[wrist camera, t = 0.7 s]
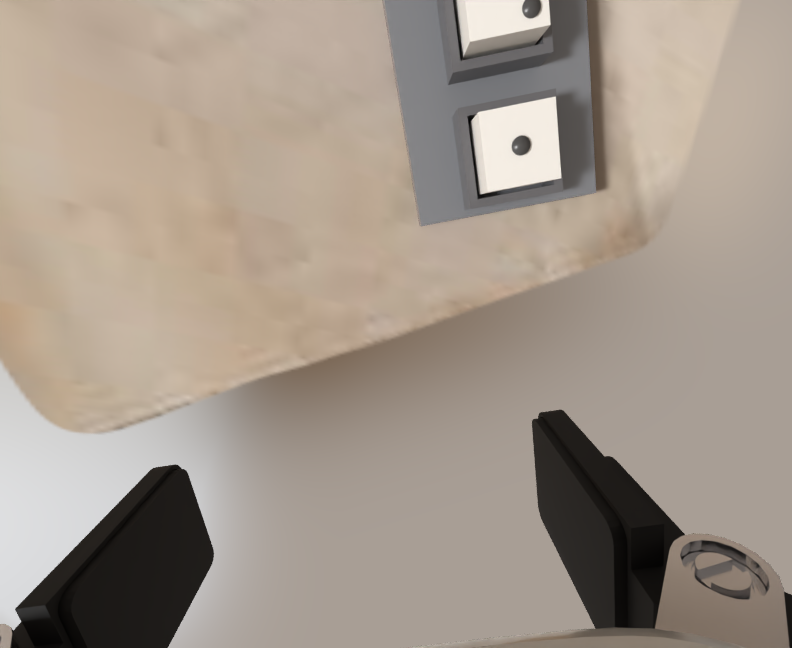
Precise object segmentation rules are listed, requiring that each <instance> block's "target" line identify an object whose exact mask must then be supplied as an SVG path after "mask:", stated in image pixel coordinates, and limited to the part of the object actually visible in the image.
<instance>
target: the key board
mask: <svg viewBox="0 0 792 648" xmlns="http://www.w3.org/2000/svg"><path fill="white" fill-rule="evenodd" d="M383 6H384V12H385V18H386V24H387V30H388V36H389V42H390V49H391V55H392V61H393V67H394V73H395V79H396V85H397V91H398V97H399V103H400V109H401V115H402V121H403V127H404V134H405V140H406V146H407V152H408V158H409V164H410V170H411V176H412V182H413V188H414V194H415V200H416V206H417V212H418V219H419V225H420V226H425V225H430V224H435V223H440V222H446V221H451V220H456V219H461V218H467V217H472V216H477V215H482V214H488V213H493V212H498V211H503V210H509V209H514V208H519V207H524V206H530V205H535V204H540V203H545V202H551V201H556V200H561V199H566V198H571V197H577V196H582V195H587V194H592V193H596V179H595V159H594V139H593V119H592V99H591V78H590V58H589V38H588V18H587V0H549V10H550V24H551V25H550V26H549V28H548V29H547V30H546V31H545V32H544V34H543V35H542V36H541V37H540V39H539V40H538V41H537V42H536V44H535V45H534V46H530V47H525V48H520V49H516V50H511V51H506V52H501V53H496V54H491V55H487V56H482V57H477V58H472V59H467V60H462V59H461V51H460V43H459V35H458V27H457V19H456V11H455V3H454V0H383ZM551 97H556V108H557V122H558V137H559V151H560V165H561V178H560V179H556V180H552V181H548V182H543V183H538V184H533V185H528V186H523V187H517V188H512V189H507V190H502V191H497V192H491V193H486V194H481V195H478V188H477V180H476V172H475V164H474V156H473V148H472V140H471V132H470V124H469V123H470V122H471V121H472V119H473V118H474V117H475V116H476V114H477V113H478V112H481V111H486V110H491V109H496V108H501V107H506V106H511V105H516V104H521V103H526V102H531V101H536V100H541V99H546V98H551Z"/></svg>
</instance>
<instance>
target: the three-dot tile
mask: <svg viewBox="0 0 792 648" xmlns="http://www.w3.org/2000/svg"><path fill="white" fill-rule="evenodd" d="M454 3H455V11H456V19H457V27H458V35H459V43H460V51H461V59H462V60H467V59H472V58H477V57H482V56H487V55H491V54H496V53H501V52H506V51H511V50H516V49H520V48H525V47H530V46H534V45H535V44H536V42H537V41H538V40H539V39H540V37H541V36H542V35H543V34H544V32H545V31H546V30H547V29H548V28H549V26H550V25H551V24H550V10H549V0H454Z"/></svg>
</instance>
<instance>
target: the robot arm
mask: <svg viewBox="0 0 792 648" xmlns="http://www.w3.org/2000/svg"><path fill="white" fill-rule="evenodd" d="M532 428H533V443H534V456H535V470H536V482H537V496H538V507H539V512H540V516H541V519H542V521H543V523H544V525H545V527H546V529H547V531H548V533H549V535H550V537H551V539H552V541H553V543H554V545H555V547H556V549H557V551H558V553H559V555H560V557H561V559H562V562H563V564H564V565H565V568H566V569H567V571H568V574H569V576H570V577H571V580H572V582H573V584H574V586H575V587H576V590H577V592H578V594H579V596H580V598H581V600H582V602H583V604H584V606H585V608H586V610H587V612H588V614H589V616H590V618H591V620H592V622H593V624H594V626H595V628H596V629H581V630H567V631H556V632H546V633H537V634H526V635H515V636H505V637H496V638H485V639H477V640H468V641H460V642H451V643H443V644H434V645H426V646H417V647H408V648H792V595H791V594H788V593H786V592H784V588H783V586H782V583H781V580H780V577H779V576H778V575H777V573H776V572H775V571H774V569H773V568H772V567H771V566H770V564H769V563H767V562H766V561H765V560H764V559H762V558H761V557H760V556H759V555H758V554H756V553H755V552H753V551H751V550H749V549H748V548H746V547H744V546H743V545H741V544H738V543H736V542H734V541H731V540H728V539H726V538H722V537H719V536H714V535H709V534H694V533H693V534H689V535H685V534H684V533H683V532H682V531H681V530H680V529H679V528H678V526H677V525H676V524H675V523H674V522H673V521H672V520H671V519H670V518H669V517H668V516H667V515H666V514H665V512H664V511H663V510H662V509H661V508H660V507H659V506H658V505H657V504H656V503H655V502H654V501H653V500H652V499H651V497H650V496H649V495H648V494H647V493H646V492H645V491H644V490H643V489H642V488H641V487H640V486H639V484H638V483H637V482H636V481H635V480H634V479H633V478H632V477H631V476H630V475H629V474H628V473H627V472H626V470H625V469H624V468H623V467H622V466H621V465H620V464H619V463H618V462H617V461H616V460H615V459H614V458H613V457H609V456H606V457H604V456H603V455H602V453H601V452H600V451H599V450H598V449H597V448H596V447H595V446H594V444H593V443H592V442H591V441H590V440H589V439H588V438H587V437H586V435H585V434H584V433H583V432H582V431H581V430H580V429H579V428H578V427H577V425H576V424H575V423H574V422H573V421H572V420H571V419H570V418H569V416H568V415H567V414H566V413H565V412H564V411H563V410H556V411H549V412H541V413H539V416H538V419H533V421H532ZM213 557H214V552H213V547H212V544H211V541H210V538H209V535H208V532H207V529H206V526H205V523H204V520H203V517H202V514H201V511H200V509H199V506H198V503H197V499H196V497H195V493H194V490H193V488H192V485H191V482H190V479H189V476H188V473H187V471H186V470H184V469H181V468H180V467H179V466H178V465H170V466H163V467H156V468H153V469H152V470H150V471H149V472H148V473H147V474H146V476H144V477H143V478H142V480H141V481H140V482H139V483H138V484H137V485H136V486H135V487H134V488H133V489H132V490H131V491H130V492H129V493H128V494H127V495H126V496H125V497H124V498H123V499H122V500H121V501H120V502H119V503H118V504H117V505H116V506H115V507H114V508H113V509H112V510H111V511H110V512H109V513H108V514H107V515H106V516H105V517H104V519H102V521H100V523H99V524H98V525H97V526H96V527H95V528H94V529H93V530H92V531H91V532H90V533H89V534H88V535H87V536H86V537H85V538H84V539H83V540H82V541H81V542H80V543H79V544H78V545H77V546H76V547H75V548H74V549H73V550H72V551H71V552H70V553H69V554H68V555H67V556H66V557H65V558H64V560H62V562H61V563H60V564H59V565H58V566H57V567H56V568H55V569H54V570H53V571H52V572H51V573H50V574H49V575H48V576H47V577H46V578H45V579H44V580H43V581H42V582H41V583H40V584H39V585H38V586H37V587H36V588H35V589H34V590H33V591H32V592H31V593H30V594H29V595H28V596H27V597H26V598H25V600H23V601H22V602H21V604H20V605H19V606H18V607H17V608H16V609H15V610H16V612H17V614H18V616H19V618H20V620H21V623H20V624H19V625H18V626H17V627H16V629H15V630H14V631H13V630H12V628H11V627H9V626H8V625H6V624H0V648H168V646H169V644H170V642H171V640H172V639H173V637H174V635H175V633H176V631H177V629H178V627H179V625H180V623H181V622H182V620H183V618H184V616H185V614H186V612H187V610H188V608H189V607H190V605H191V603H192V601H193V599H194V597H195V595H196V593H197V591H198V590H199V587H200V586H201V584H202V582H203V580H204V578H205V576H206V574H207V572H208V571H209V569H210V567H211V564H212V562H213Z"/></svg>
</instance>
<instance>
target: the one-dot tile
mask: <svg viewBox="0 0 792 648" xmlns="http://www.w3.org/2000/svg"><path fill="white" fill-rule="evenodd" d="M469 124H470V132H471V140H472V148H473V156H474V164H475V172H476V180H477V188H478V195H481V194H486V193H491V192H497V191H502V190H507V189H512V188H517V187H523V186H528V185H533V184H538V183H543V182H548V181H552V180H556V179H560V178H561V165H560V151H559V137H558V122H557V108H556V97H551V98H546V99H541V100H536V101H531V102H526V103H521V104H516V105H511V106H506V107H501V108H496V109H491V110H486V111H481V112H478V113H477V114H476V116H475V117H474V118H473V119H472V121H471V122H470V123H469Z"/></svg>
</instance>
